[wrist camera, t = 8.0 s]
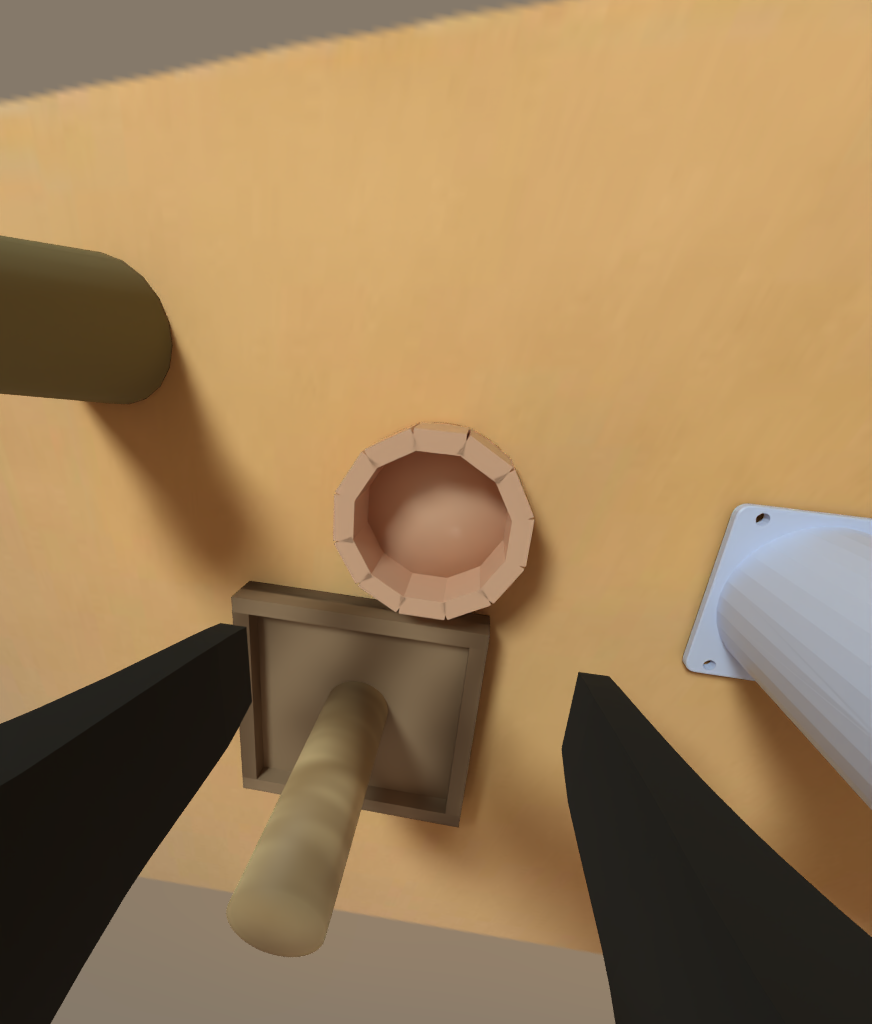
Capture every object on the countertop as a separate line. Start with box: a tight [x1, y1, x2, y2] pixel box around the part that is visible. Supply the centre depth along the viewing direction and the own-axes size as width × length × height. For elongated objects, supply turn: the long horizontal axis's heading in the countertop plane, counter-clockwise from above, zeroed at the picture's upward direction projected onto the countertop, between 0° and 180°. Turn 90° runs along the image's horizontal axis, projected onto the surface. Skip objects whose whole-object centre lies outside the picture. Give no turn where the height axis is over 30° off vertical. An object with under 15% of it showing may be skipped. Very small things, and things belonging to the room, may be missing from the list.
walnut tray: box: [231, 581, 490, 827], centre depth 21 cm, size 12×12×2 cm
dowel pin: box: [226, 681, 388, 957], centre depth 17 cm, size 3×3×9 cm
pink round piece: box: [333, 422, 534, 620], centre depth 17 cm, size 8×8×3 cm
